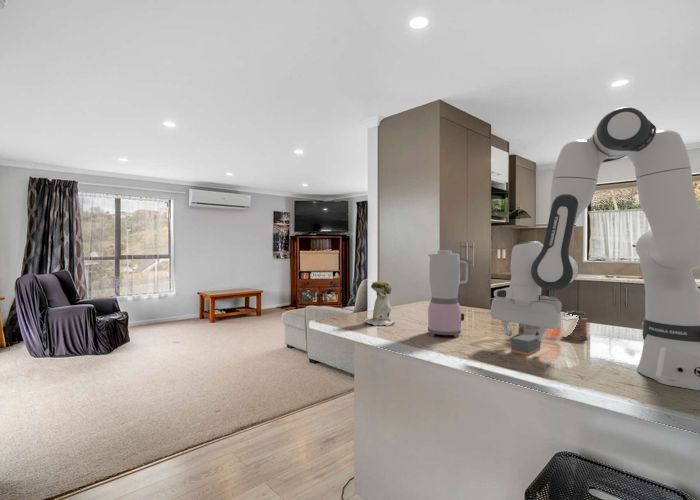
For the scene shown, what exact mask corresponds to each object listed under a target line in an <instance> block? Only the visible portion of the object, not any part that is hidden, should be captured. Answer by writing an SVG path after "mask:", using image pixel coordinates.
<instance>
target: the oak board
mask: <svg viewBox="0 0 700 500" xmlns="http://www.w3.org/2000/svg"><path fill="white" fill-rule="evenodd" d="M464 345H469V346H474V347H477V348H482V349H487V350H491V351H495V352H499V353H505V354H510V355H513V356H519V357H522V358H527V359H531V360H535V359H536V358H538V357H541V356H542V355H544V354H546V353H549V352H550V351H552V349H551V348H550V349H549V348H546V347H541V346H540V350H538V351H536V352H534V353H532V354H530V355H525V354H520V353H516V352H511V341H509V340H505V339H500V338H496V337H490V336H484V337H481V338H478V339H474V340H470V341H468V342H465V343H464Z"/></svg>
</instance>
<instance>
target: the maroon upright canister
mask: <svg viewBox="0 0 700 500" xmlns="http://www.w3.org/2000/svg"><path fill="white" fill-rule="evenodd" d="M566 313H568V314H566ZM570 314H572V316H573V315H577V316H576V317H578V318H579V320H578V322H577V325H576V327H575V329H574V330H573V332H572V333H571V334H570V335H568V336H567V337H564V338H563V340H564V339H565V340H573V341H575V340H576V341H579V340H580V341H587V340H588V336H587V335H588V333H587V331H588V330H587V329H588V318H586V317H582V316H586V312H585V311H575V310H571V311H565V315H569V316H570Z"/></svg>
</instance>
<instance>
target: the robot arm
mask: <svg viewBox="0 0 700 500" xmlns="http://www.w3.org/2000/svg"><path fill="white" fill-rule="evenodd" d="M625 157H627V158H628V159H629V160H630V161H631V162H632V165H633V167H634V175H635V179H636V180H635V181H636V187H637V196H638V201H639V202H638V203H639V208H640V209H641V211H642V212H643V213H644V215H645V217H646V219H647V221H648V224H649V227H650V230H648V231H646V232H644V233H643V234H642V235H641V236H640V237H639V238H638V239H637V241H636V244H635V251H636V254H637V256H638V257H639V263H640V268H641V273H642V279H643V284H644V291H645V292H644V293H645V304H644V305H645V306H644V308H645V309H644V311H645V312H644V313H645V315H644V316H645V318H643V320H642V321H643V322H642V327H641V328H642V329H641V330H642V334H641V336H642V339H643V346H642V351H641V356H640V359H639V363H638V365H637V367H636V371H637V372H638V373H640V374H641V375H644V376H645V377H647V378H651V379H653V380H655V381H656V382H658V383H660V384H661V385H666V386H672V387H673V386H674V387H678V388H685V389H688V390H689V389H690V390H695V391H700V288H699V287H698V285H697V283H696V280H695V276H694V272H693V270H697V269H700V205H699V204H698V200H697V198H696V192H695V186H694V180H693V173H692V167H691V162H690V158H689V154H688V151H687V147H686V144H685V143H684V140H683V138H682V135H680V134H679V133H678V132H676V131H673V130H669V129H667V130H665V129H663V130H657V127H656V126H655V124H654V123H652V121H650V120H649V119H648V118H647V116H646V115H645V114H644V113H643V112H642V111H640V110H639V109H637V108H635V107H630V106H627V107H626V106H625V107H619V108H616V109H614V110H612V111H610V112H609V113H607V114H605V115H604V116H603V118H602V119H601V120H600V121H599V123H598V125H597V126H596V127H595V130H594V132H593V134H592V135H591V137H589V138H587V139H576V140H572V141H570V142H567V143H566V144H564V145H563V147H561V149H560V152H559V154H558V156H557V160H556V163H555V166H554V171H553V175H552V178H551V179H552V180H551V187H550V205H549V208H550V209H549V216H548V217H549V218H548V222H547V227H546V230H545V231H546V232H545V236H544V241H543V243H541V242H540V241H538V240H537V241H536V240H531V241H530V240H529V241H524V242H518V243H516V244H515V245H514V246H513V247H512V249H511V256H510V268H509V271H510V273H511V276H510V279H509V287H503V288H501V289H500V288H499V289H495V290H494V291H493V296H494V298H493V299H492V300H491V304H490V305H491V306H490V317H491V318H492V319H493V320H497V321H498V320H499V321H501V325H502V327H503V329H504V335H505V336H507V337H511V336H512V335H513V329H510V327H509V324H510V323H514V324H515V323H516V324H518V325H519V324H525V325H531V326H536V327H540V331H542V332H541V334H540V335H537V336H536V341H537V342H540V343H543V342H544V336H546V334H547V332H548V331H549V330H558V329H559V328H561V327H562V314H561V312H562V307H563V305H562V304H563V302H561V300H560V299H558V298H557V297H555V296H554V297H553V296H546V295H542V289H544V290H546V291H553V292H555V291H560V290H562V289H564V288H566V287H567V286H568V285H569V284H570V283H572V282H573V281H574V280H575V279H576V278H577V277H578V275H579V271H580V270H579V267H580V266H579V265H578V263H577V261H576V259H575V258H574V257H572V256H571V255H570V248H571V242H572V239H573V234H574V229H575V225H576V222H577V220H578V218H579V217H580V215H581V214H582V213H583V212H584V211H585V210H587V208H588V207H589V206H590V205H591V203H592V201H593V200H592V199H593V197H594V194H595V192H596V189H597V183H598V178H599V177H598V176H599V171H600V168H601V165H602V164H603V163H607V162H613V161H617V160H621V159H623V158H625Z"/></svg>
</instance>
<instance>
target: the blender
mask: <svg viewBox="0 0 700 500" xmlns="http://www.w3.org/2000/svg"><path fill="white" fill-rule="evenodd" d="M452 252H453V251H452V250H451V249H450V250H448V249H447V250H442V249H441V250H440V249H438V250H437V253H430V254H427V256H428V257H429V265H428V266H429V267H428V268H429V269H428V270H429V273H428V274H429V276H428V277H429V286H430V292H431V293H430V294H431V299H430V302H429V304H428V309H427V319H428V320H427V321H428V322H427V325H428V326H427V332H429V336H431V337H435V335H439V336H440V335H441V336H453V338H454V339H455V338H459V335H460V334H461V332H462V327H461V326H462V321H465V314H464V313H463V312H462V307H461V305H460V303H459V300H458V295H459V288H460V286H468V284H470V283H471V261H470V260H469V259H467V258H464V257H460V254H459V253H452ZM461 263H463V264H465V277H464V280H461Z"/></svg>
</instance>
